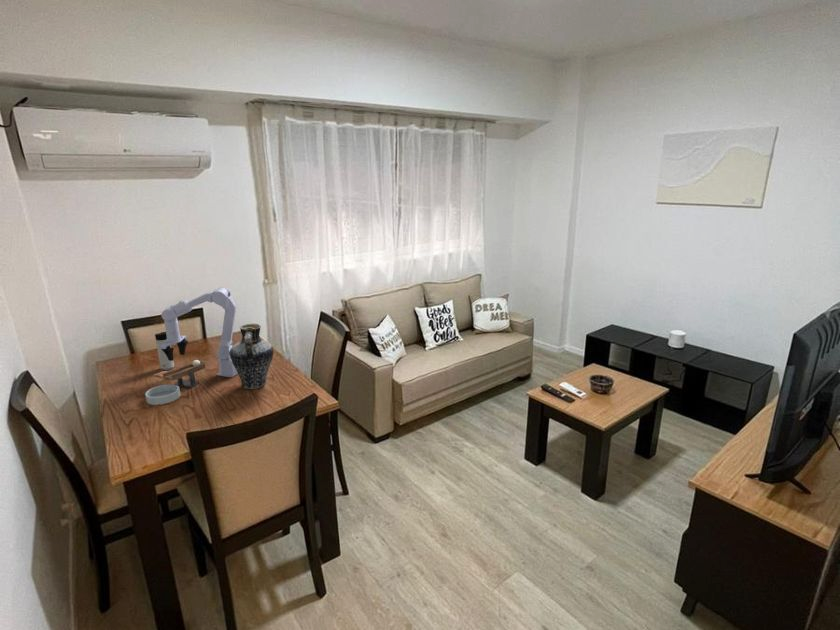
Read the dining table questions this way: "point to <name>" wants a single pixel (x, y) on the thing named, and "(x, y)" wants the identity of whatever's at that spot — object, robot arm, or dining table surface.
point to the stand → (187, 381)
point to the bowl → (162, 394)
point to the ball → (196, 363)
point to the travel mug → (163, 359)
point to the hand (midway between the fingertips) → (176, 357)
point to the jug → (251, 357)
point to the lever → (180, 371)
